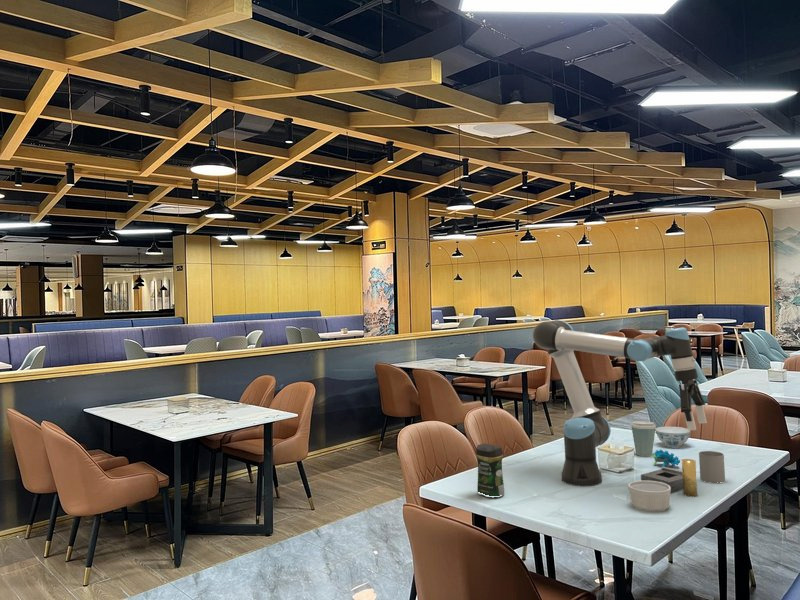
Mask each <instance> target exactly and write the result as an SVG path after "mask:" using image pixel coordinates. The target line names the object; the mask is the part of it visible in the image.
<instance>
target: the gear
mask: <svg viewBox="0 0 800 600" xmlns="http://www.w3.org/2000/svg"><path fill="white" fill-rule="evenodd" d="M652 458H653V459H654V463H653V466H654V465H656V466H657V463H663V464H662V466H661V467H667V466H666V465H672V466H673V465H674V466H678V465H680V463H681V460H680V459H679V456H675V454H674V453H672V452H671V453H669V451H668V450H663V449H659V450H658V449H656V450H655V452H654V454H653V456H652Z"/></svg>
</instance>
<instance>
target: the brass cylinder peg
mask: <svg viewBox="0 0 800 600" xmlns="http://www.w3.org/2000/svg"><path fill="white" fill-rule="evenodd" d="M696 462H697V461H696V460H694V459H691V458H684V459H681V471H682V475H683V490H682V492H683V495H684V496H685V495H686V497H690V496H692V498H693V496H694V498H695V497H698V484H697V483H698V482H697V481H698V480H697V466H696V465H697V464H696Z"/></svg>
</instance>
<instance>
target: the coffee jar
mask: <svg viewBox="0 0 800 600" xmlns="http://www.w3.org/2000/svg"><path fill="white" fill-rule="evenodd" d="M475 457H476V461H477V488H476V489H477V493H478V492H480V493H483V494H485V495H489V496H500V495H503V494H504V495H505V484H504V477H503V467H502V466H503V465H502V463H503V458H504V453H503V448H502V447H501V446H500V445H493V444H489V443H480V444H477V446H476V450H475ZM504 495H503V496H504Z"/></svg>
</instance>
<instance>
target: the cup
mask: <svg viewBox="0 0 800 600" xmlns="http://www.w3.org/2000/svg"><path fill="white" fill-rule="evenodd" d="M724 456H725V455H724V453H722V452H719V451H714V450H703V451H699V452H698V458H699V462H698V463H699V478H700V479H699V480H700V481H702V482H704V481H705V483H708V482H711V483H710V484H721V483H720V482H724V481H725V482H726V471H725V457H724ZM717 482H718V483H717ZM725 482H724V483H725Z"/></svg>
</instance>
